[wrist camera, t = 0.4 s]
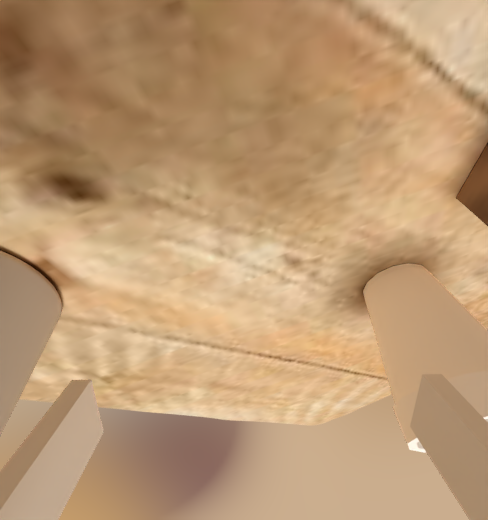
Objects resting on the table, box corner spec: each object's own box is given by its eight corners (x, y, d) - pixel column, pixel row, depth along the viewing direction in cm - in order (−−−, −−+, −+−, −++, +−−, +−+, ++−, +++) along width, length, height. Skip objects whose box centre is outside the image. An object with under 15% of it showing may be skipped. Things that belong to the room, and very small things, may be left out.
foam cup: (392, 320, 32) (461, 455, 23) (329, 302, 29) (378, 449, 20) (468, 267, 26) (602, 418, 17) (398, 237, 23) (515, 402, 14)
